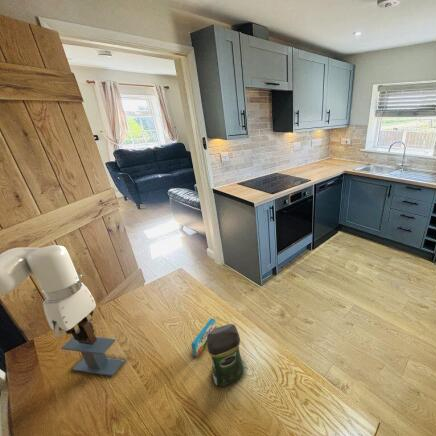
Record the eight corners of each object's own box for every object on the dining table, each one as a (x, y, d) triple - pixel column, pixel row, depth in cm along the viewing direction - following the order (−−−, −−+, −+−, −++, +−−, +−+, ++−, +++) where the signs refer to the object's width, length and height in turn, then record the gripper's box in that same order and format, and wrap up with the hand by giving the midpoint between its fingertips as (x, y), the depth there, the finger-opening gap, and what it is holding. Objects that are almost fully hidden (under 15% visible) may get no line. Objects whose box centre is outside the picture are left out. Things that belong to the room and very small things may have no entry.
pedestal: (73, 371, 77) (60, 347, 72) (87, 356, 81) (76, 334, 77) (112, 377, 75) (102, 353, 71) (124, 362, 80) (115, 339, 76)
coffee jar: (239, 356, 82) (235, 317, 75) (246, 377, 76) (242, 336, 69) (210, 369, 78) (203, 328, 71) (215, 392, 72) (208, 350, 64)
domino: (79, 343, 73) (69, 324, 70) (84, 338, 75) (75, 319, 72) (92, 345, 73) (83, 326, 69) (97, 339, 74) (89, 321, 71)
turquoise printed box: (213, 329, 93) (211, 317, 90) (216, 330, 93) (214, 318, 90) (193, 356, 82) (190, 344, 80) (197, 357, 82) (194, 345, 79)
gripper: (78, 270, 73) (96, 315, 80) (17, 308, 58) (47, 358, 66) (100, 272, 72) (117, 317, 80) (44, 311, 58) (71, 362, 65)
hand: (85, 335), depth 73 cm, fingers closed on domino, 2 cm apart
